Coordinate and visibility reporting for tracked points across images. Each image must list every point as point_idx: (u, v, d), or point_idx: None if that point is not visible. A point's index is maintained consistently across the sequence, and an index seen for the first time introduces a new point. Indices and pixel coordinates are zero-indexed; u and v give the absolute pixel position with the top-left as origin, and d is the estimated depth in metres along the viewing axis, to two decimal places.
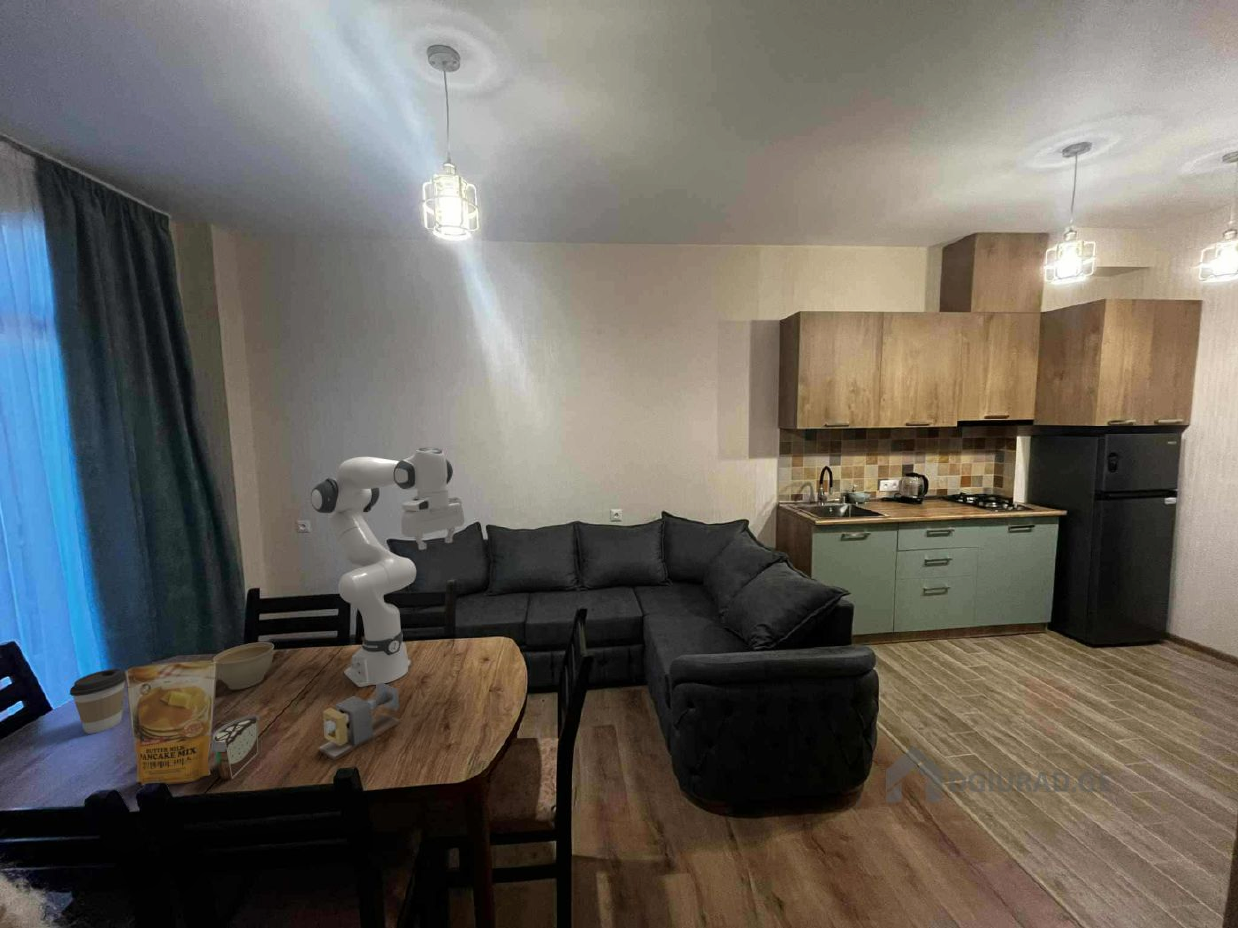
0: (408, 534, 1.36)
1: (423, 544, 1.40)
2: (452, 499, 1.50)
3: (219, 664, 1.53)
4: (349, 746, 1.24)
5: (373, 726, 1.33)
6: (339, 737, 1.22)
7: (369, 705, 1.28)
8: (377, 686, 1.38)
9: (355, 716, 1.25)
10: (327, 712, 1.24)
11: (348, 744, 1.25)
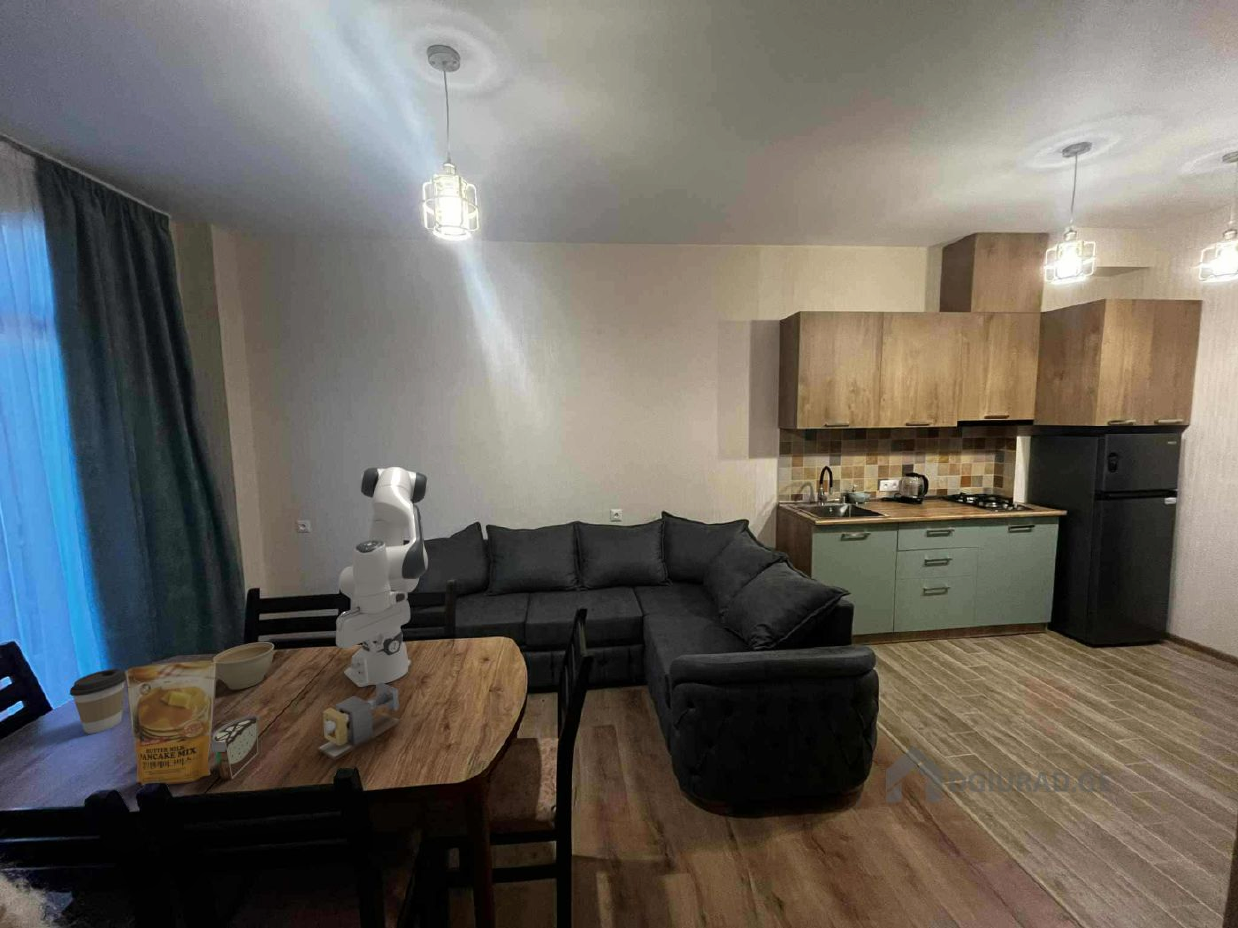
0: None
1: None
2: None
3: (219, 664, 1.53)
4: (349, 746, 1.24)
5: (373, 726, 1.33)
6: (339, 737, 1.22)
7: (369, 705, 1.28)
8: (377, 686, 1.38)
9: (355, 716, 1.25)
10: (327, 712, 1.24)
11: (348, 744, 1.25)
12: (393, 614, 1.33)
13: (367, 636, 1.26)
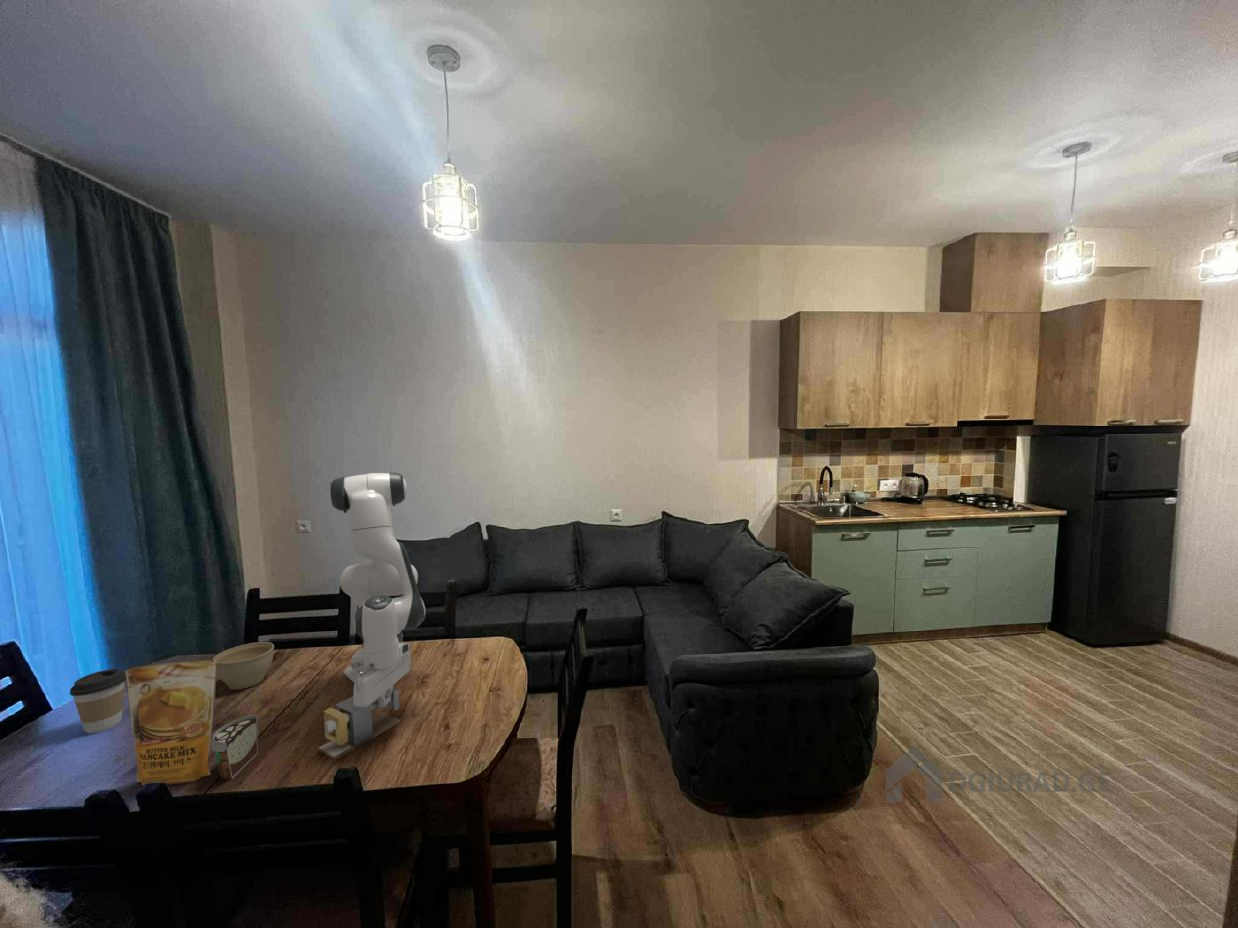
0: None
1: None
2: None
3: (219, 664, 1.53)
4: (349, 746, 1.24)
5: (373, 726, 1.33)
6: (340, 737, 1.22)
7: (369, 705, 1.28)
8: None
9: (355, 716, 1.25)
10: (328, 712, 1.25)
11: (348, 744, 1.25)
12: (398, 666, 1.36)
13: (381, 691, 1.28)
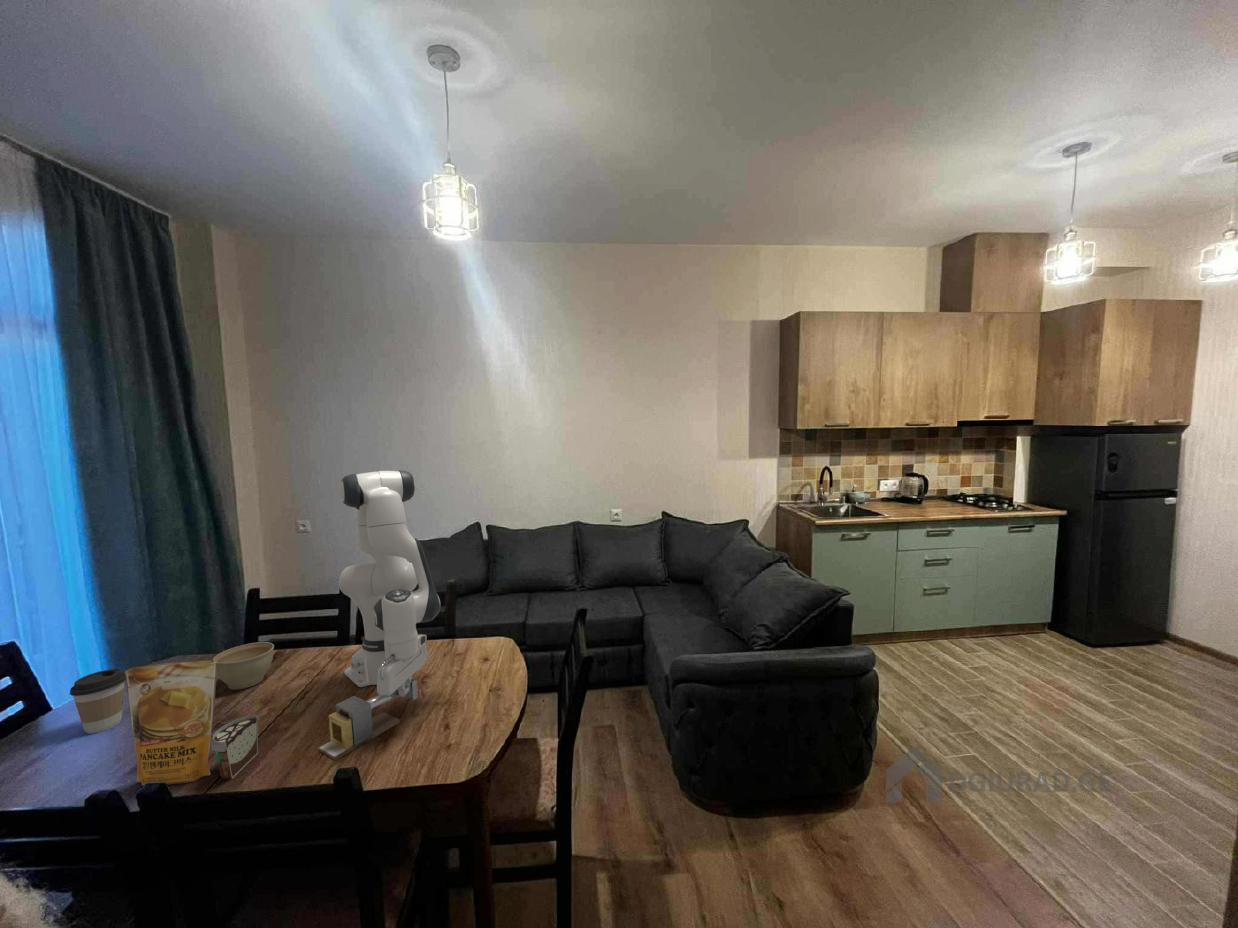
0: None
1: None
2: None
3: (219, 664, 1.53)
4: None
5: (373, 726, 1.33)
6: (345, 741, 1.23)
7: (369, 705, 1.28)
8: None
9: (355, 716, 1.25)
10: (333, 716, 1.26)
11: None
12: (416, 657, 1.42)
13: (402, 681, 1.34)
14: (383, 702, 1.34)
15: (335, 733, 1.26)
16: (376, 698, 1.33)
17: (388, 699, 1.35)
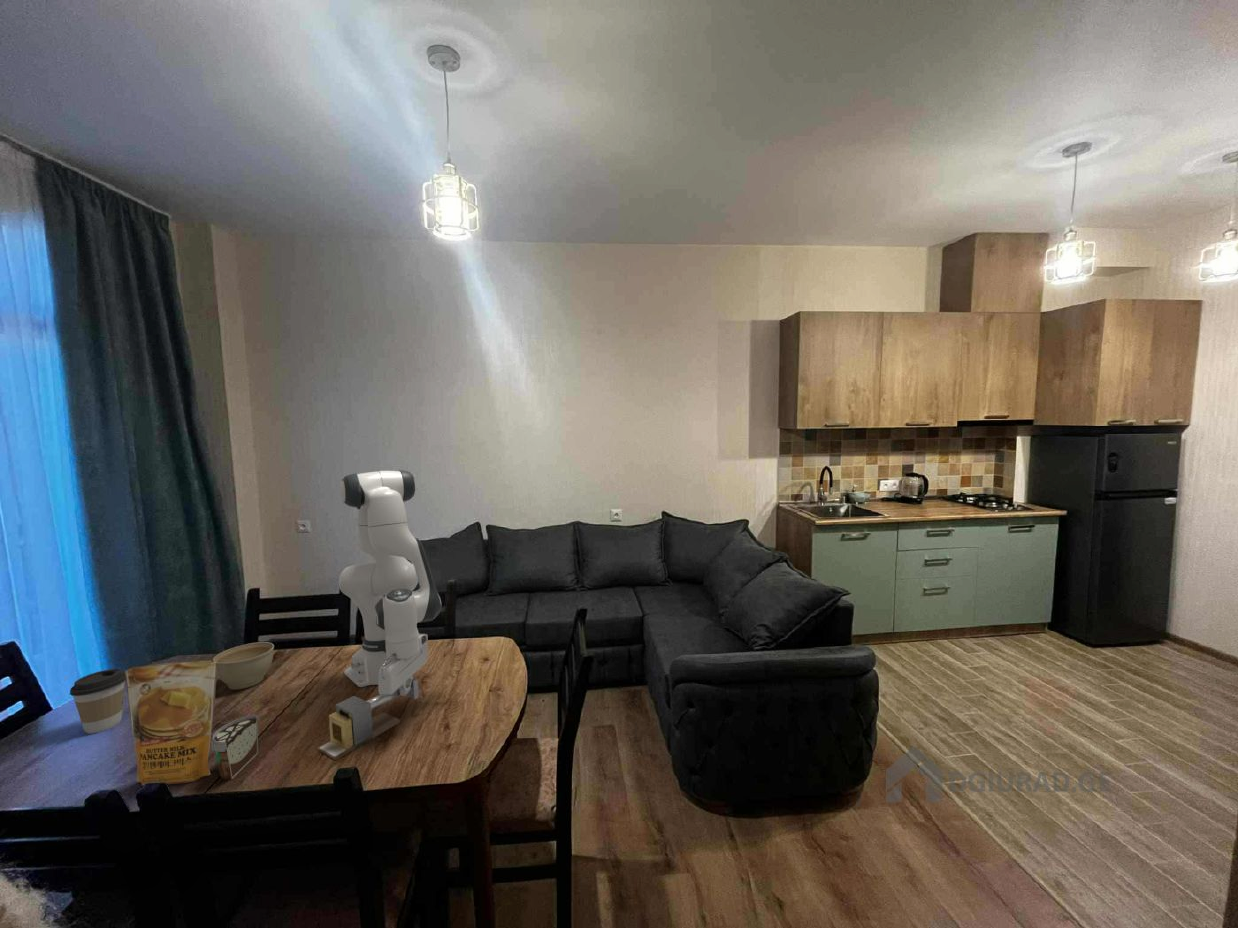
0: None
1: None
2: None
3: (219, 664, 1.53)
4: None
5: (373, 726, 1.33)
6: (345, 741, 1.23)
7: (369, 705, 1.28)
8: None
9: (355, 716, 1.25)
10: (333, 716, 1.26)
11: None
12: (417, 656, 1.42)
13: (403, 680, 1.34)
14: (384, 701, 1.35)
15: (335, 733, 1.26)
16: (377, 697, 1.34)
17: (389, 698, 1.36)
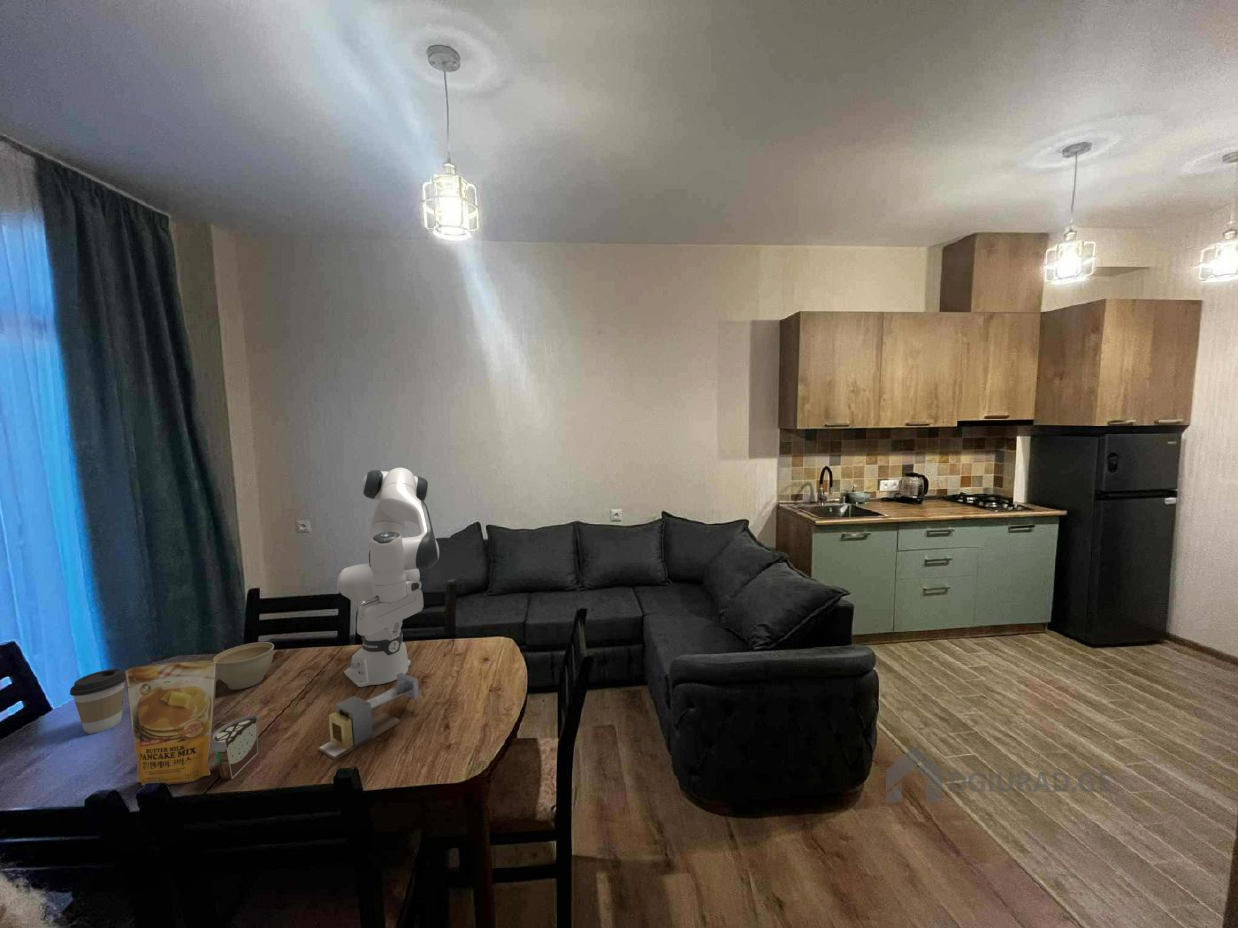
0: None
1: None
2: None
3: (219, 664, 1.53)
4: None
5: (373, 726, 1.33)
6: (345, 741, 1.23)
7: (369, 705, 1.28)
8: (397, 676, 1.43)
9: (355, 716, 1.25)
10: (333, 716, 1.26)
11: None
12: (408, 603, 1.38)
13: (386, 624, 1.30)
14: (384, 701, 1.35)
15: (335, 733, 1.26)
16: (377, 697, 1.34)
17: (389, 698, 1.36)
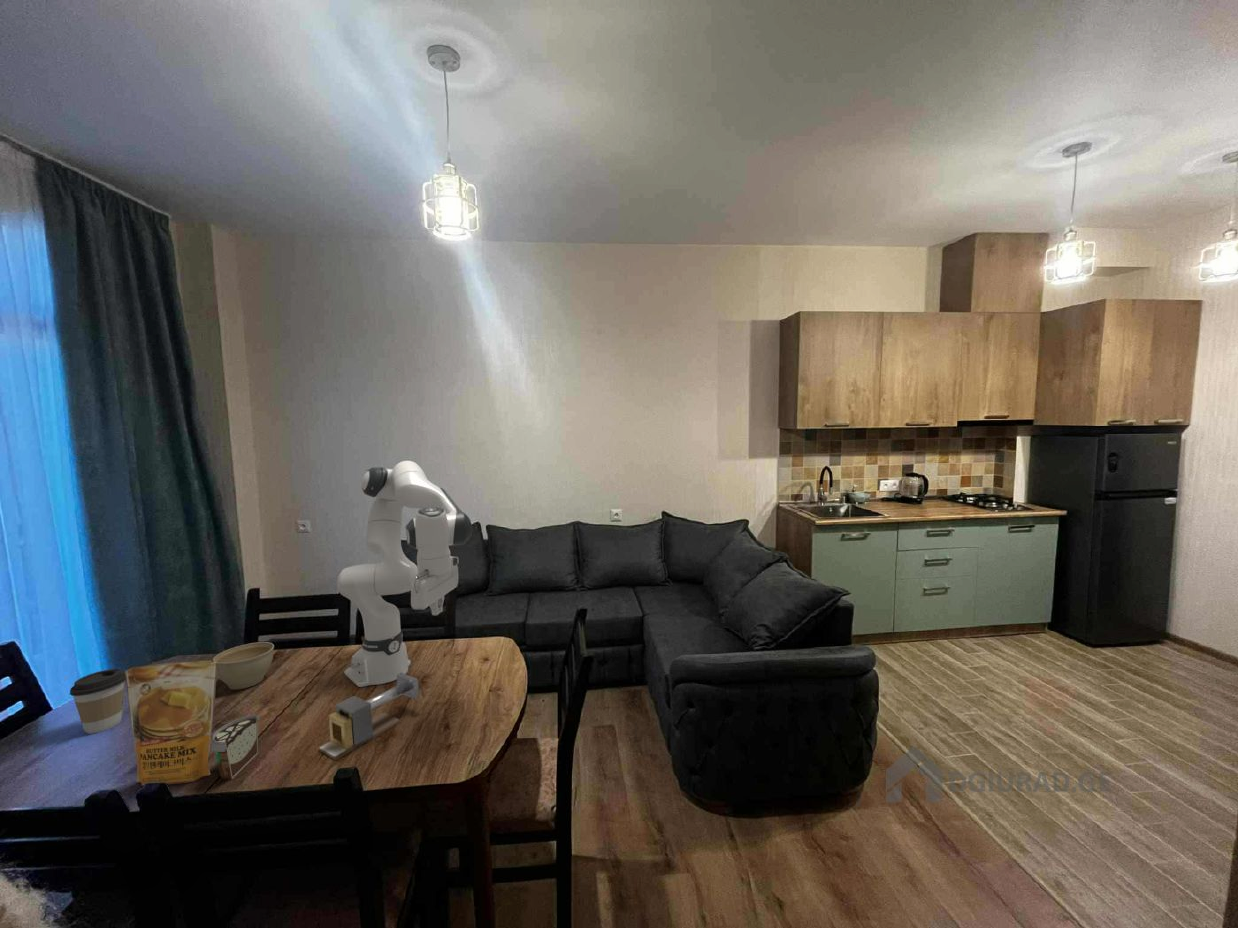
0: None
1: None
2: None
3: (219, 664, 1.53)
4: None
5: (373, 726, 1.33)
6: (345, 741, 1.23)
7: (369, 705, 1.28)
8: (397, 676, 1.43)
9: (355, 716, 1.25)
10: (333, 716, 1.26)
11: None
12: (448, 578, 1.39)
13: (435, 598, 1.30)
14: (384, 701, 1.35)
15: (335, 733, 1.26)
16: (377, 697, 1.34)
17: (389, 698, 1.36)
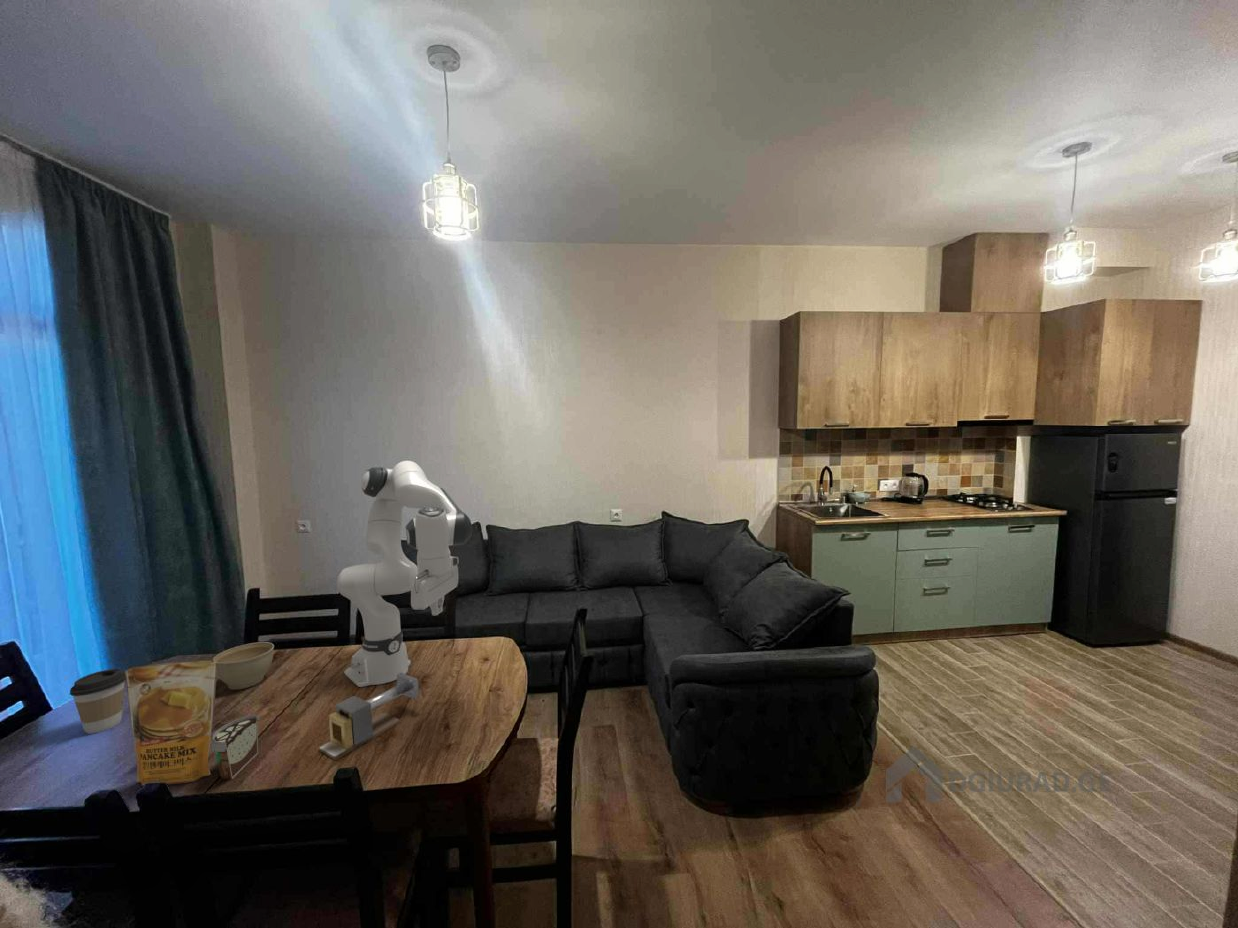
0: None
1: None
2: None
3: (219, 664, 1.53)
4: None
5: (373, 726, 1.33)
6: (345, 741, 1.23)
7: (369, 705, 1.28)
8: (397, 676, 1.43)
9: (355, 716, 1.25)
10: (333, 716, 1.26)
11: None
12: (448, 578, 1.39)
13: (435, 598, 1.30)
14: (384, 701, 1.35)
15: (335, 733, 1.26)
16: (377, 697, 1.34)
17: (389, 698, 1.36)
